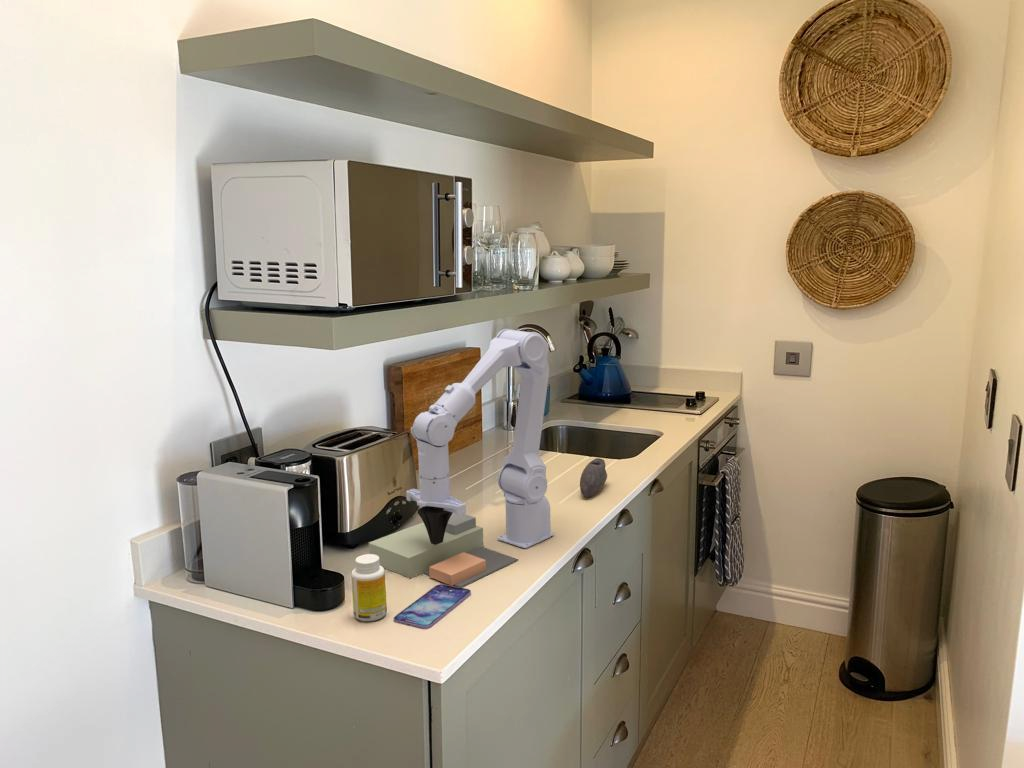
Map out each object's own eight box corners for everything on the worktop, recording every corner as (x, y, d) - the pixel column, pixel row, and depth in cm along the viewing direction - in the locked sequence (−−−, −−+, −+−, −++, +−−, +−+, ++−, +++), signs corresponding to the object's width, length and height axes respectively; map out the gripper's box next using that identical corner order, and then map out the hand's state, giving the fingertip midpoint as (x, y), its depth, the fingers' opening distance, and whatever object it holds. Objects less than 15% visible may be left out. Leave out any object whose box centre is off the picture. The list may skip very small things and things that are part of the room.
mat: (481, 548, 163) (481, 546, 163) (518, 560, 156) (518, 559, 156) (423, 573, 151) (423, 572, 151) (460, 588, 145) (460, 586, 145)
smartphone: (390, 619, 133) (438, 583, 146) (390, 624, 133) (438, 587, 146) (427, 627, 130) (473, 589, 143) (428, 632, 130) (473, 594, 143)
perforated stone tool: (593, 502, 189) (593, 474, 188) (572, 500, 191) (571, 472, 190) (610, 484, 203) (610, 457, 201) (590, 482, 205) (590, 456, 203)
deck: (443, 532, 172) (442, 514, 171) (483, 546, 164) (482, 527, 163) (369, 561, 157) (368, 542, 156) (409, 578, 149) (408, 558, 149)
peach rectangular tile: (485, 560, 151) (485, 569, 152) (463, 552, 155) (463, 561, 156) (451, 575, 145) (451, 585, 145) (429, 566, 149) (429, 576, 149)
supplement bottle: (393, 615, 135) (390, 558, 133) (364, 626, 131) (361, 568, 129) (375, 604, 139) (372, 549, 137) (347, 614, 135) (344, 558, 134)
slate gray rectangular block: (424, 525, 165) (424, 515, 165) (445, 517, 170) (445, 508, 169) (455, 535, 159) (454, 525, 159) (475, 526, 164) (475, 517, 163)
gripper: (393, 472, 153) (396, 539, 155) (445, 487, 143) (448, 558, 146) (420, 464, 158) (423, 529, 160) (472, 478, 148) (474, 546, 151)
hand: (436, 542), depth 153 cm, fingers closed
